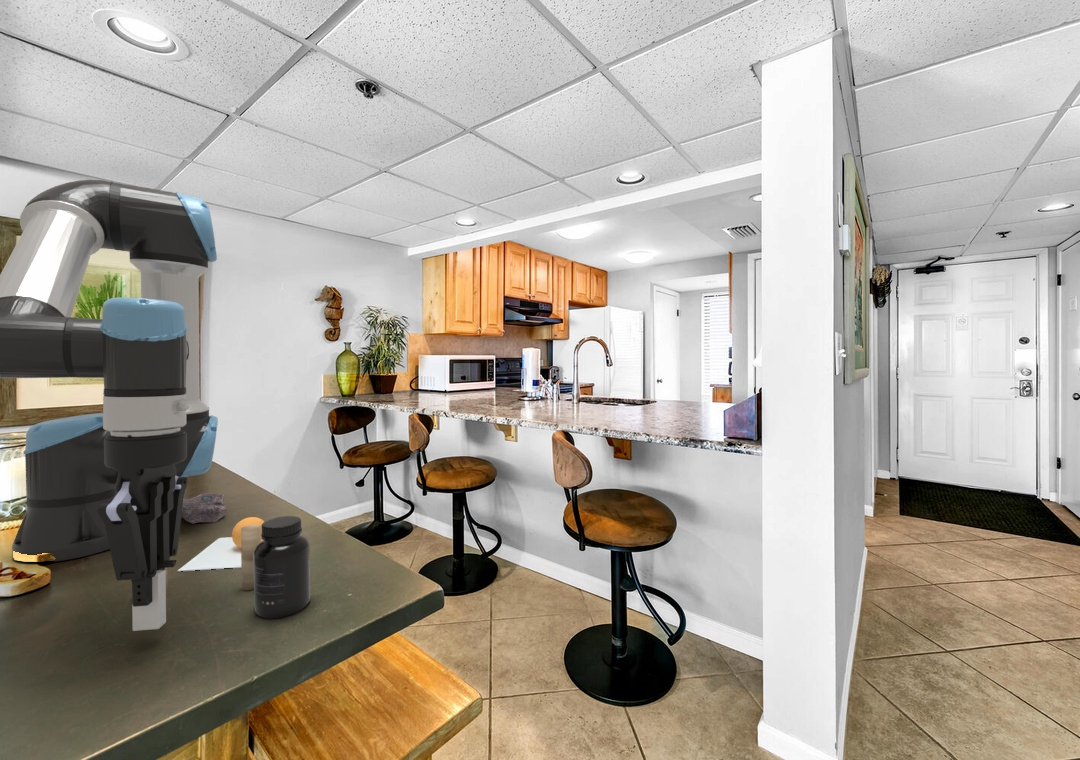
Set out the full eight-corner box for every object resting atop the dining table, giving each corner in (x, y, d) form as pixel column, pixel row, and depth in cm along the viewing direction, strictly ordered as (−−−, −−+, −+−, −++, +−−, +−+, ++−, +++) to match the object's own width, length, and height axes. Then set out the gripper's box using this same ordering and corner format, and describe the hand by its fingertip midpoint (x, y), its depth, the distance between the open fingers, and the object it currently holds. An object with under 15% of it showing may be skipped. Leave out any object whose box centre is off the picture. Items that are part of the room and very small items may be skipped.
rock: (185, 529, 93) (185, 506, 93) (171, 516, 101) (171, 495, 100) (232, 520, 99) (232, 498, 99) (216, 508, 107) (216, 488, 107)
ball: (239, 513, 86) (225, 524, 81) (272, 512, 87) (260, 522, 82) (240, 543, 86) (226, 555, 81) (272, 540, 87) (261, 553, 82)
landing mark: (219, 538, 88) (219, 537, 88) (299, 534, 91) (299, 533, 91) (177, 571, 74) (177, 570, 74) (273, 565, 77) (273, 564, 77)
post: (245, 583, 71) (245, 524, 71) (263, 581, 72) (263, 524, 71) (238, 591, 69) (238, 530, 68) (257, 589, 69) (257, 529, 69)
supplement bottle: (273, 593, 68) (273, 512, 68) (319, 595, 68) (319, 513, 68) (241, 619, 61) (241, 529, 61) (293, 621, 61) (292, 530, 61)
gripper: (149, 439, 50) (151, 656, 50) (210, 423, 62) (211, 596, 63) (65, 440, 48) (70, 664, 49) (145, 423, 61) (147, 601, 62)
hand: (149, 626), depth 56 cm, fingers closed
